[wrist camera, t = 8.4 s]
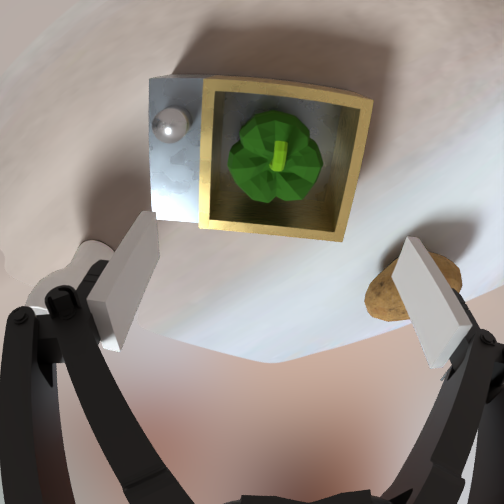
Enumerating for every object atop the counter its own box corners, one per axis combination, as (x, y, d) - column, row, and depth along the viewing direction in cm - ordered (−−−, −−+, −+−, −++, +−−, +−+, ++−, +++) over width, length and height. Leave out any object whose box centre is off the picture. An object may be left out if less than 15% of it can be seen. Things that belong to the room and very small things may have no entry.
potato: (352, 253, 41) (366, 293, 34) (445, 228, 38) (472, 262, 31) (361, 305, 46) (372, 345, 39) (444, 281, 43) (464, 317, 36)
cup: (76, 218, 40) (17, 287, 27) (140, 252, 43) (98, 333, 30) (65, 269, 45) (19, 337, 33) (120, 299, 48) (86, 374, 35)
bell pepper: (290, 191, 36) (296, 238, 27) (223, 159, 34) (208, 196, 26) (328, 128, 31) (351, 156, 23) (258, 91, 29) (255, 103, 21)
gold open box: (170, 191, 37) (146, 228, 30) (171, 74, 29) (140, 80, 22) (329, 206, 37) (344, 247, 30) (350, 90, 30) (377, 102, 22)
